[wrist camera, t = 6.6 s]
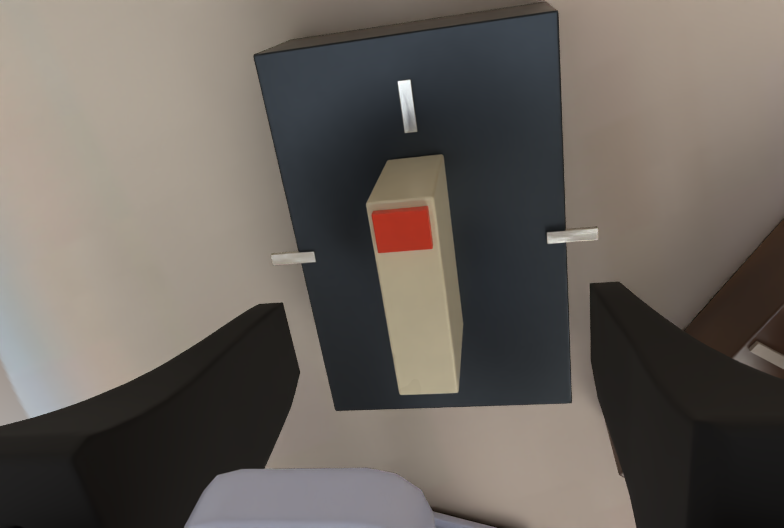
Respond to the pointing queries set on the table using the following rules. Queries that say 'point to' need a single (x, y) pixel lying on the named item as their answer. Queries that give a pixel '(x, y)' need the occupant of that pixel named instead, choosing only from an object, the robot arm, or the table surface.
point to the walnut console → (747, 313)
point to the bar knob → (418, 273)
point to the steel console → (464, 184)
